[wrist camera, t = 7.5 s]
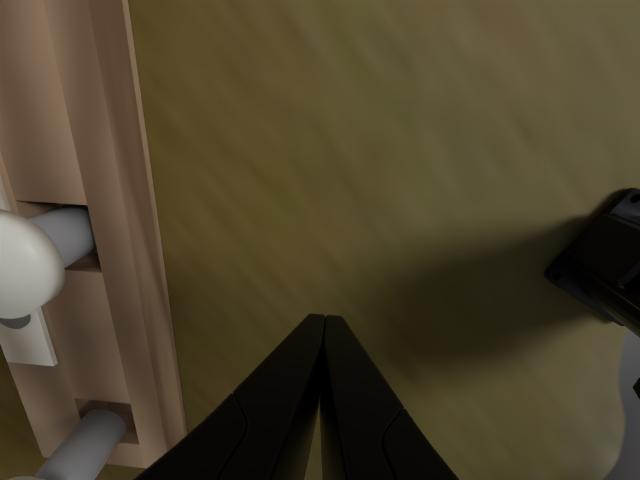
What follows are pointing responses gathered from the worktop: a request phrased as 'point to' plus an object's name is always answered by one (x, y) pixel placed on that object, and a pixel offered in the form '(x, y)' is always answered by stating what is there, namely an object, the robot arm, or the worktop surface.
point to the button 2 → (84, 448)
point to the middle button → (40, 255)
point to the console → (107, 223)
